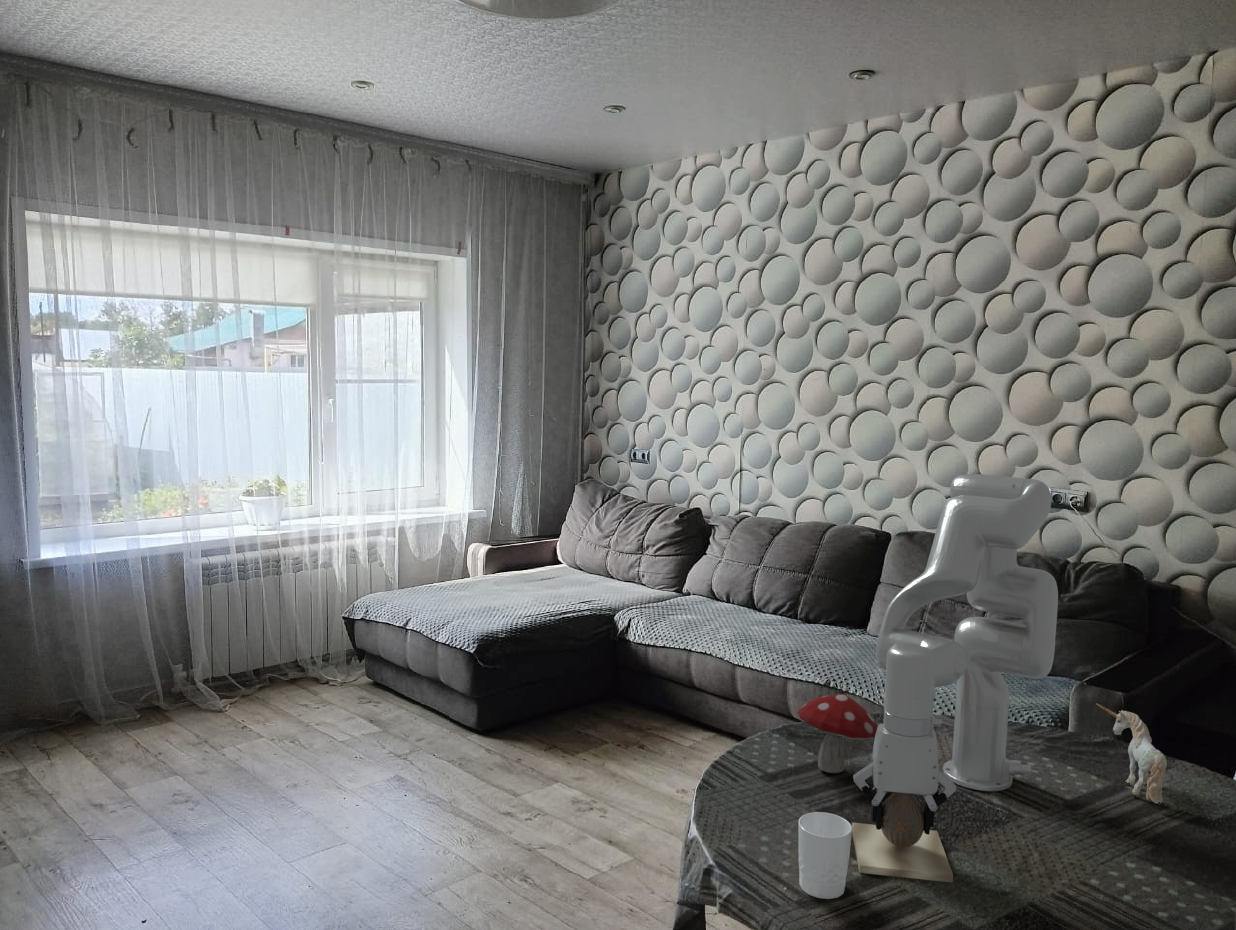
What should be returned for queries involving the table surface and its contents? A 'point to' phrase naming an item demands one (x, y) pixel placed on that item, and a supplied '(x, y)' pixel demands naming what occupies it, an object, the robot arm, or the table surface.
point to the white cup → (823, 854)
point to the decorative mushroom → (837, 727)
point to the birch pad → (900, 855)
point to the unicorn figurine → (1141, 755)
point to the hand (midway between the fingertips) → (901, 827)
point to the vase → (902, 820)
